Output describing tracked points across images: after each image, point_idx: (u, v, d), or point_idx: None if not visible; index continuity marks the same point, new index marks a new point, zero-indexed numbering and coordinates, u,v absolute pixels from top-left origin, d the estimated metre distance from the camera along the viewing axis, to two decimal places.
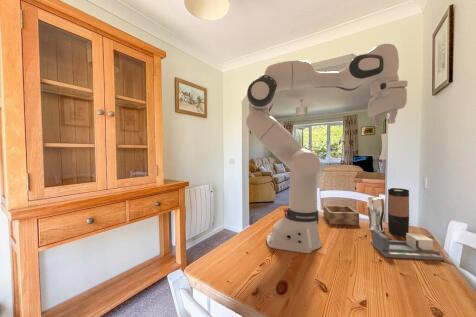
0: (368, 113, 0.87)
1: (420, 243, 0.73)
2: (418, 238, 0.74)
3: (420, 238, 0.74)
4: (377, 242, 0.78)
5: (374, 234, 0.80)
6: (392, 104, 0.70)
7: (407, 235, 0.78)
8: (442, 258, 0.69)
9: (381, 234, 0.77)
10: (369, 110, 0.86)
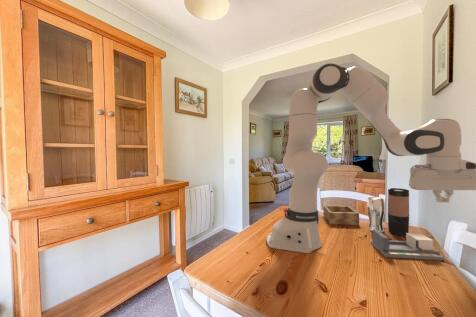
0: (419, 186, 0.73)
1: (420, 243, 0.73)
2: (418, 238, 0.74)
3: (420, 238, 0.74)
4: (377, 242, 0.78)
5: (374, 234, 0.80)
6: None
7: (407, 235, 0.78)
8: (442, 258, 0.69)
9: (381, 234, 0.77)
10: (422, 182, 0.73)
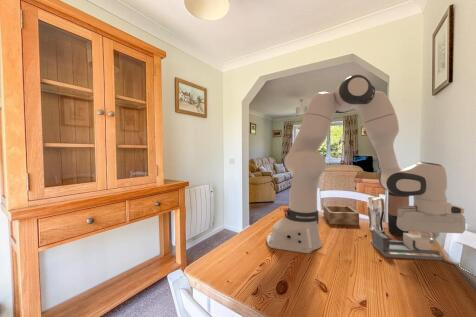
0: (405, 227, 0.74)
1: (417, 243, 0.73)
2: (415, 238, 0.74)
3: (417, 237, 0.74)
4: (377, 242, 0.78)
5: (374, 234, 0.80)
6: (462, 230, 0.71)
7: (404, 235, 0.78)
8: (442, 258, 0.69)
9: (381, 234, 0.77)
10: (408, 224, 0.74)
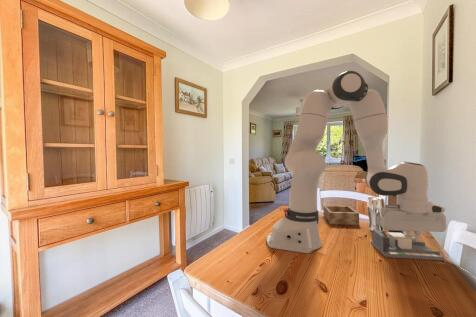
0: (388, 226, 0.75)
1: (399, 242, 0.74)
2: (397, 237, 0.75)
3: (400, 237, 0.75)
4: (377, 242, 0.78)
5: (374, 234, 0.80)
6: (443, 228, 0.72)
7: (388, 234, 0.79)
8: (442, 258, 0.69)
9: (381, 234, 0.77)
10: (391, 223, 0.75)
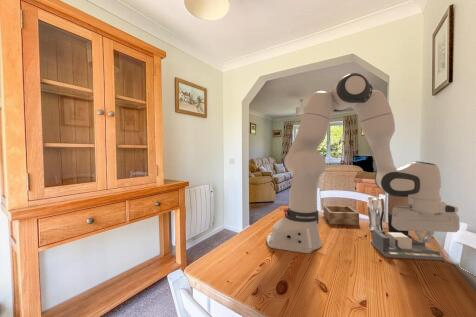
0: (400, 226, 0.75)
1: (399, 242, 0.74)
2: (397, 237, 0.75)
3: (400, 237, 0.75)
4: (377, 242, 0.78)
5: (374, 234, 0.80)
6: (456, 228, 0.72)
7: (388, 234, 0.79)
8: (442, 258, 0.69)
9: (381, 234, 0.77)
10: (403, 223, 0.74)
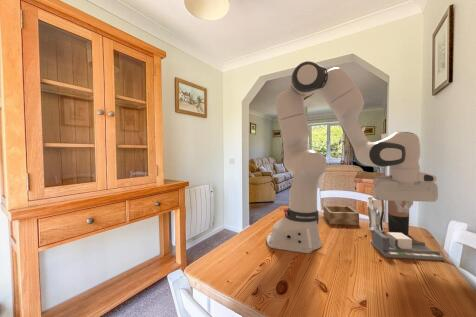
0: (380, 196, 0.75)
1: (399, 242, 0.74)
2: (397, 237, 0.75)
3: (400, 237, 0.75)
4: (377, 242, 0.78)
5: (374, 234, 0.80)
6: (435, 198, 0.72)
7: (388, 234, 0.79)
8: (442, 258, 0.69)
9: (381, 234, 0.77)
10: (383, 193, 0.75)
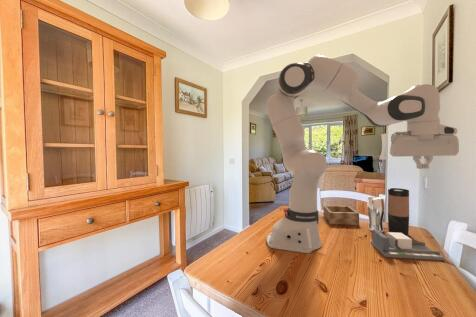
0: (399, 152, 0.74)
1: (399, 242, 0.74)
2: (397, 237, 0.75)
3: (400, 237, 0.75)
4: (377, 242, 0.78)
5: (374, 234, 0.80)
6: (455, 151, 0.71)
7: (388, 234, 0.79)
8: (442, 258, 0.69)
9: (381, 234, 0.77)
10: (402, 149, 0.74)
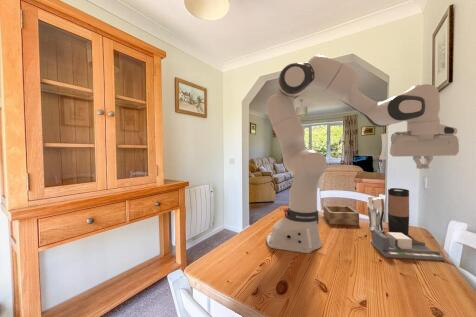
0: (399, 152, 0.74)
1: (399, 242, 0.74)
2: (397, 237, 0.75)
3: (400, 237, 0.75)
4: (377, 242, 0.78)
5: (374, 234, 0.80)
6: (455, 151, 0.71)
7: (388, 234, 0.79)
8: (442, 258, 0.69)
9: (381, 234, 0.77)
10: (402, 149, 0.74)
